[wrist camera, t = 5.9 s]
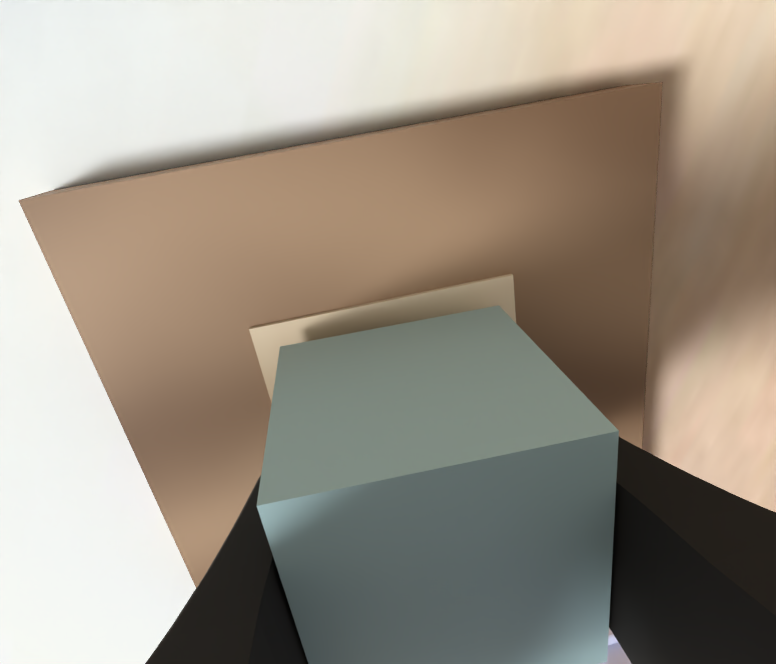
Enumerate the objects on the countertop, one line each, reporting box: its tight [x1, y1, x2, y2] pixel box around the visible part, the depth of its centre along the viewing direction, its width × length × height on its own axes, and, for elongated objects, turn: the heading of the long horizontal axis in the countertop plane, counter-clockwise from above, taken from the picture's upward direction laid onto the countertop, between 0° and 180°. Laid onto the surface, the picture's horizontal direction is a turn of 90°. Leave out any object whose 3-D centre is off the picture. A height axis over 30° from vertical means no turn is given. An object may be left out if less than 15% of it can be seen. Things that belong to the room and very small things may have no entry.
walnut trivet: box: [19, 82, 662, 588], centre depth 12 cm, size 12×12×1 cm
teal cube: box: [257, 305, 619, 664], centre depth 9 cm, size 4×4×4 cm
